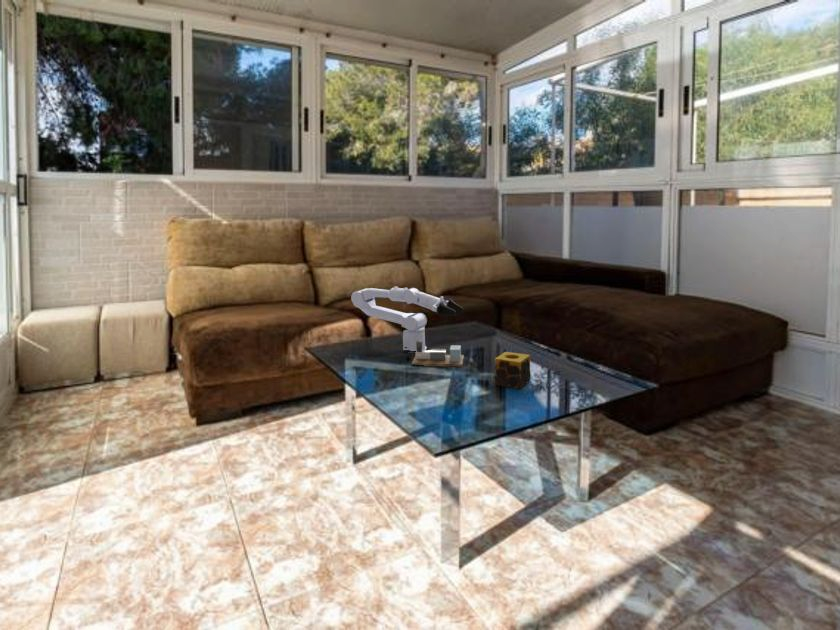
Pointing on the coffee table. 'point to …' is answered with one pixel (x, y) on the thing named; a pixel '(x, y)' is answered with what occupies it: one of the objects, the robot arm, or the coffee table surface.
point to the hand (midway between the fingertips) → (458, 312)
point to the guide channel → (437, 355)
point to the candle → (512, 370)
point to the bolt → (424, 351)
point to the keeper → (455, 353)
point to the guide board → (438, 362)
